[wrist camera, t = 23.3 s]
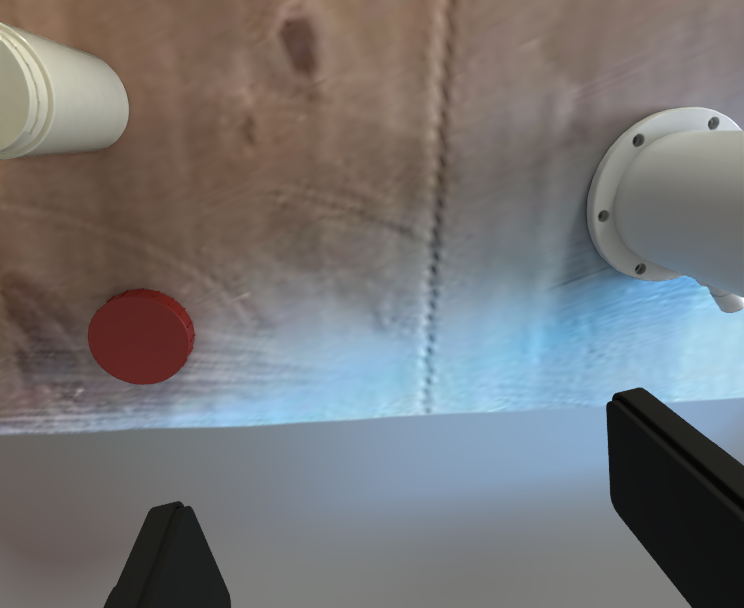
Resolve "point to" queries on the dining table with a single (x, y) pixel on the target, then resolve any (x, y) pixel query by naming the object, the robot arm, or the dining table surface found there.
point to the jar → (55, 98)
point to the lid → (141, 336)
